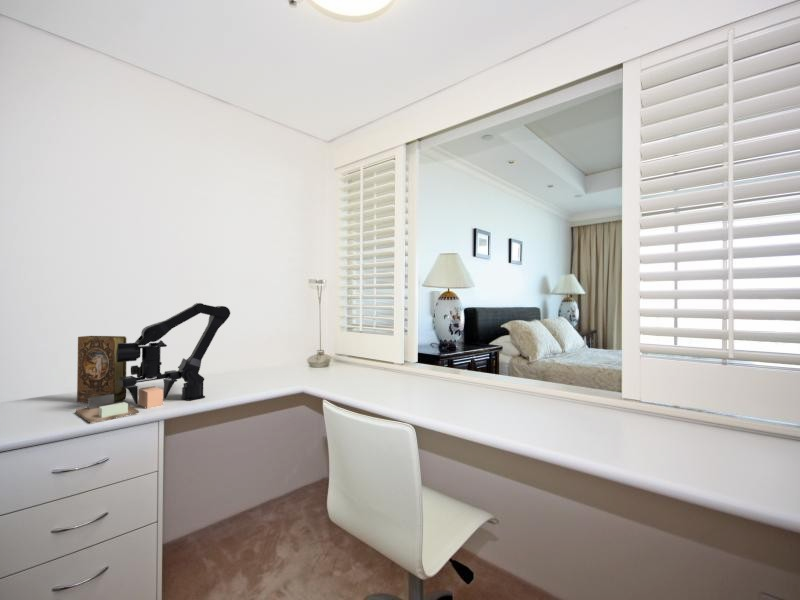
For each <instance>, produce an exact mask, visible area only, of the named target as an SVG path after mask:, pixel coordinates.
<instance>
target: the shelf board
mask: <svg viewBox="0 0 800 600" xmlns="http://www.w3.org/2000/svg"><path fill="white" fill-rule="evenodd" d="M123 402H124V401H117V402H114V404H118V403H123ZM76 413H77V416H79V417H80V416H81V417H80V418H82V419H83V418H84V419H85V420H84V421H86V420H87V421H88V422H90V423H91V424H93V423H92V422H96V421H101V422H103V421H102V420H106V421H108V420H107V419H111V420H113V419H112V418H115V419H117V418H116V417H120V418H122V417H121V416H125V417H127V416H126V415H130V414H135V413H140V410H138V409H136V408H135V407H133V406H130V405H129V404H128V413H123V414H118V415H113V416H108V417H103V418H101V417H100V416H99V408H95V409H88V408H87V407H86V408H84V407H83V408H80V409H75V414H76ZM135 415H136V414H135ZM130 416H131V415H130ZM87 421H86V422H87ZM88 422H87V423H88ZM90 423H89V424H90ZM96 423H97V422H96Z"/></svg>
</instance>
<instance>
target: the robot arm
mask: <svg viewBox="0 0 800 600" xmlns="http://www.w3.org/2000/svg"><path fill="white" fill-rule="evenodd" d="M199 314H203V315H208V316H209V318H208V321H207V325H206V327H205V329H204V331H203V333H202V334H201V336H200V338H199V340H198V342H197V343H196V345H195V347H194V349H193V351H192V353H191V354H190V355H189V357H188V358H182V360H181V362H180V364H179V366H177V369H178V370H176V369H173V370H166V371H164V372H163V373H162V372H161V366H162V363H163V362H161V352H162V351H161V350H162V349H161V348H166V347H167V346H168V345H167V344H166V343H165V342H164V341H163V340H161V338H163V337H165V336H166V335H167V334H168V333H169V332H170V331H171V330H172V329H174V328H175V327H178V326H180V325H181V324H184V323H185V322H187V321H189V320H191V319H192V318H194V317H196V316H198V315H199ZM230 316H231V310H230V308H229V307H227V306H223V305H216V306H215V305H214V306H213V305H209V304H204V303H202V302H196V303H194V304H193V305H192V306H190V307H187V308H186V309H183V310H182V311H180V312H179V313H175V314H174V315H173V316H171V317H169V318H167V319H165V320H162V321H159V322H155V323H153V324H150V325H147V326H145V327H144V328H142V330H141V333H140V336H139V337H137V339H136V340H135V342H126V343H118V347H117V352H116V361H117V362H126V363H127V362H136V361H137V360H138V359H139V358H141V361H140V366H138V365H137V364H136V365H131V366H130V375H129V376H127V375H126V377H120V378H119V380H118V385H119V386H121V387H124V388H126V390H128V392H129V393H130V395H131V397H132V400H133V402H134V404H135V405H138V398H139V387H138V385H137V384H138V383H144V382H151V381H157V380H163V400H165V399H167V397H168V395H169V393H170V390H171V389H172V387H173V385H174V384H175V383H176V382H178V380H180V379H182V380H183V381H184V383H183V387H182V388H181V399H183V400H185V401H193V400H194V401H195V400H198V399H203V398H206V396H205V395H204V381H205V377H204V376H203V375H201V374H200V370H201V365H202V359H203V358H204V356H205V354H206V352H207V351H208V349H209V347H210V345H211V343H212V342H213V339H214V338H215V335H216V334H217V332H218V330H219V328H221V327H222V326H223V325H224V323H225V322H226V321H227V320H228V319H229V318H230ZM134 375H136V376H134Z"/></svg>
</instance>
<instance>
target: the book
mask: <svg viewBox="0 0 800 600" xmlns="http://www.w3.org/2000/svg"><path fill="white" fill-rule="evenodd" d="M118 343H127V337H126V336H123V335H120V336H119V335H83V336H78V337H77V375H76V376H77V377H76V378H77V379H76V380H77V382H76V387H77V388H76V403H77V402H84V403H83V404H89V397H96V396H102V395H108V394H114V403H117V402H121V401H124V400H126V399H127V389H126V388H124V387H121V386H119V385H118V380H119V378H120V377H127V362H117V361H116V352H117V347H118Z"/></svg>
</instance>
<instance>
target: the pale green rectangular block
mask: <svg viewBox="0 0 800 600" xmlns="http://www.w3.org/2000/svg"><path fill="white" fill-rule="evenodd" d="M122 402H123V403H118V402H117V403H118V404H112V405H107V406H101V407H99V416H100V417H101V418H103V417H108V416H113V415H118V414H123V413H128V405H129V403H128V402H125V401H122Z"/></svg>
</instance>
